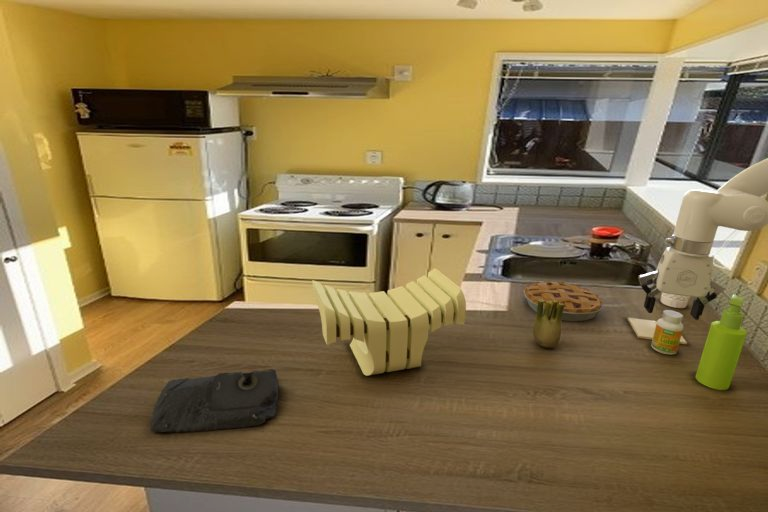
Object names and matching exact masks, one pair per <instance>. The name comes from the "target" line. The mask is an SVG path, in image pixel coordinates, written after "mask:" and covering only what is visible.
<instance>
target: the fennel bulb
mask: <svg viewBox="0 0 768 512" xmlns="http://www.w3.org/2000/svg"><path fill="white" fill-rule="evenodd" d="M551 303H552V301H546V305H545V310H544V314H543V300H538V307H537V312H536V315H535V319H534V323H533V338H534V341H535V343H536V344H538V345H539V346H540V347H541V348H544V349H554V348H555V347H556V346H557V345H558V344H559V343H560V341H561V338H562V337H561V336H562V320H561V317H562V313H563V309H564V306H565V305H564V304H563V303H560V302H559V304H558V301H556V300H553V305H552V310H551V314H550V316H549V313H550V309H551ZM557 304H558V307H557Z"/></svg>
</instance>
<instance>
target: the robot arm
mask: <svg viewBox="0 0 768 512" xmlns="http://www.w3.org/2000/svg"><path fill="white" fill-rule="evenodd" d="M767 194H768V157H767V158H764V159H763V160H761V161H758V162H756V163H754V164H752V165H751V166H749V167H747V168H745V169H743V170H742V171H740V172H739V173H737V174H736V175H734V176H733V177H731V178H730V179H729V180H728V181H726V182H725V183H724V184H722V185H721V186H720V187H719V188H718V189H717V190H716V191H712V190H705V189H704V190H703V189H690V190H688V191H686V192H685V193H684V194H683V197H682V200H681V204H680V208H679V210H678V211H679V212H678V215H677V217H676V218H677V219H676V223H675V226H674V230H673V233H672V235H671V237H668V238H667V237H665V238H664V240H663V243H664V245H668V246H667V247H666V248H665V250H664V251H663V253H662V255H661V257H660V260H659V261H658V264H657V266H656V269H655V270H654V271H650V272H647V273H644V274H640V275H638V277H637V279H638V283H639V285H640V287H641V289H642V290H643V291H644V292H645V298H644V302H643V307H644V308H645V311H646V312H647V313H648V314H652V313H653V312H654V309H655V304H656V301H657V298H656V297H655V296H657V295H659V294H660V293H662V292H663V293H668V294H675V295H682V296H690V298H691V297H692V298H694V300H693V302H692V305H691V309H690V312H689V315H690V316H691V317H692V318H693V319H694V320H696V321H699V319H700V316H702V315H703V312H704V309H705V306H707V305H708V304H709V303H710V302H711V301H713V300H715V299H717V297H718V296H720V294H721V293H722V292H723V291H724V290H725V288H724V286H722V285H721V284H719V283H718V282H717V281H714V280H713V279H712V277H713V270H714V261H715V260H714V257H715V255H713V254H712V253H711V250H712V247H713V244H714V241H715V238H716V234H717V231H718V228H719V227H724V228H728V229H733V230H737V231H743V232H752V231H758V230H760V229H763V228H765V227H766V226H768V200H766V198H763V196H764V195H767ZM650 280H652V284H651V285H650V286H649V285H648V281H650ZM710 288H712V289H711V290H710Z"/></svg>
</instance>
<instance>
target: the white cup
mask: <svg viewBox="0 0 768 512" xmlns="http://www.w3.org/2000/svg"><path fill="white" fill-rule="evenodd" d="M690 298H691V297H690V296H682V295H675V294H668V293H663V292H661V295H660V303H662V304H663V305H665V306H667V307H670V308H675V309H685V308H686V307H688V303H689V300H690Z"/></svg>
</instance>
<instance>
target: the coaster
mask: <svg viewBox="0 0 768 512" xmlns="http://www.w3.org/2000/svg"><path fill="white" fill-rule="evenodd" d="M627 321H628V323H629V324H630V327H631V328H632V330H633V332H634V333H635V335H636V336H637V338H638V339H644V340H653V336H654V332H655V328H656V324H657V321H658V320H650V319H643V318H635V317H627ZM680 344H681V345H688V341H686V339H685V337H684V336H683V334H682V335H681V339H680V342H679V345H680Z"/></svg>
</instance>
